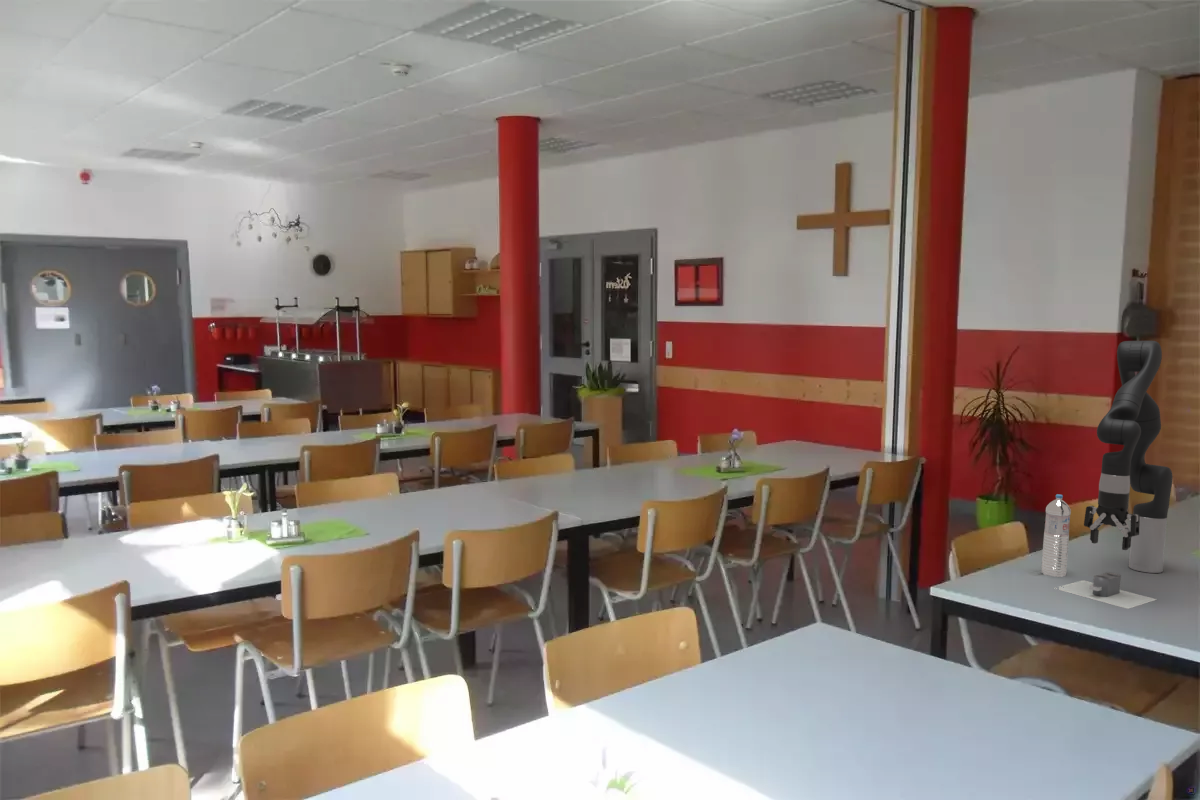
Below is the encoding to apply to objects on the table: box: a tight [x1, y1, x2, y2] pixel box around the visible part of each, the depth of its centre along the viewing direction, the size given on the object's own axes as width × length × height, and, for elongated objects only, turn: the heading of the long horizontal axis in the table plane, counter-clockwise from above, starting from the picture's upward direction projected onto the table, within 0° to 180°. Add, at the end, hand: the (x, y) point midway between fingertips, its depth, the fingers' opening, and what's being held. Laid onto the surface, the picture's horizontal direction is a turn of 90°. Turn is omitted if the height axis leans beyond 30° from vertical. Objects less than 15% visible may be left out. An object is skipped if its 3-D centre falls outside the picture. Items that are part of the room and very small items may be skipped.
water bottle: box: [1041, 493, 1072, 578], centre depth 279 cm, size 7×7×25 cm
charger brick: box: [1089, 572, 1122, 597], centre depth 261 cm, size 12×4×5 cm, turn 124°
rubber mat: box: [1053, 579, 1157, 610], centre depth 261 cm, size 16×21×1 cm
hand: (1109, 546), depth 260 cm, fingers open, 8 cm apart
